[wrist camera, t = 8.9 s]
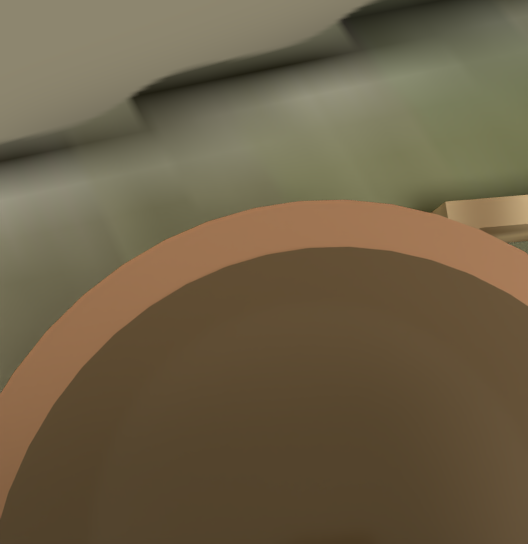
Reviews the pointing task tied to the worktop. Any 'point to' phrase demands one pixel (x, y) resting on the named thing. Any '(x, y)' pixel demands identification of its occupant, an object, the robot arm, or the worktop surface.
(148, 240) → the worktop surface
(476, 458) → the terracotta pot
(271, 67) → the worktop surface
